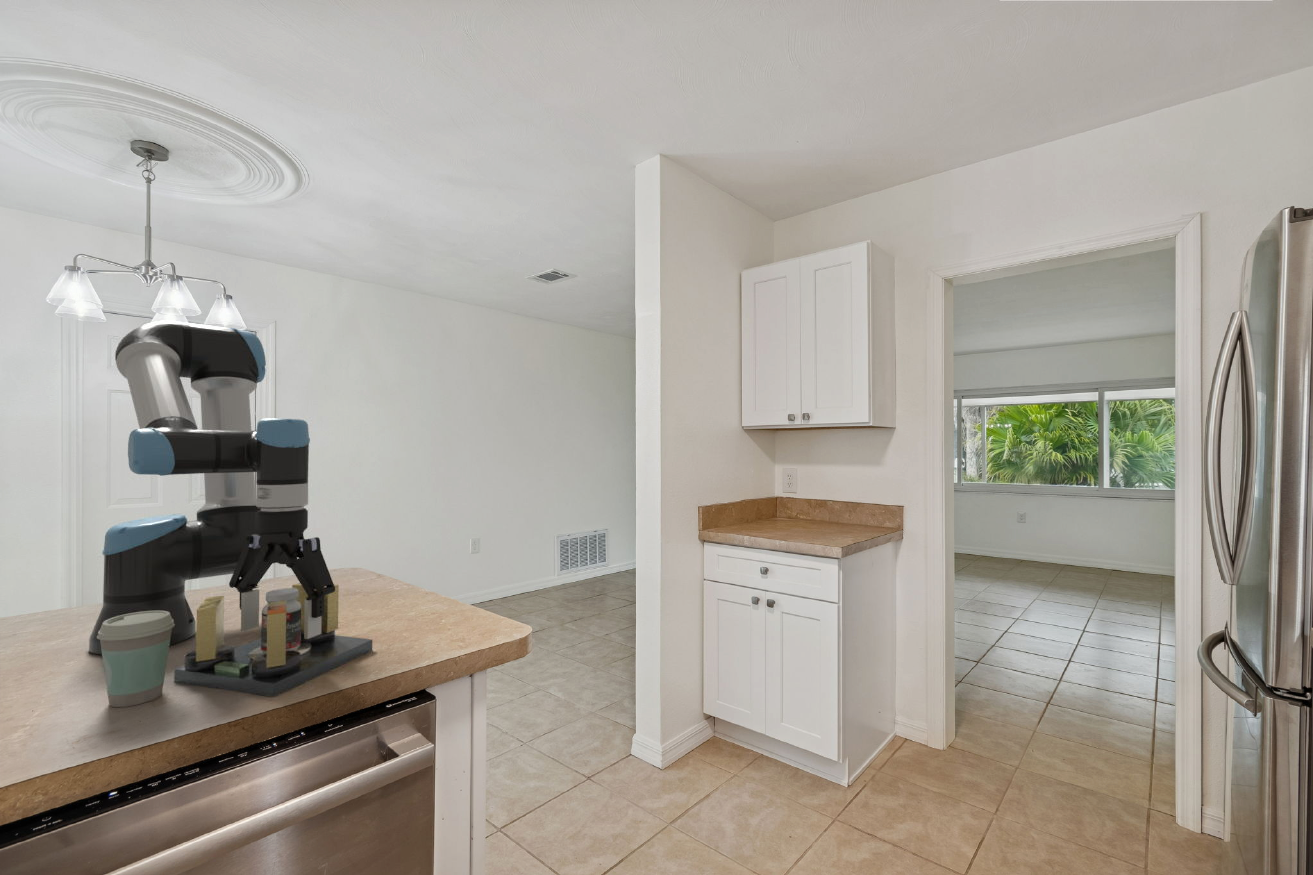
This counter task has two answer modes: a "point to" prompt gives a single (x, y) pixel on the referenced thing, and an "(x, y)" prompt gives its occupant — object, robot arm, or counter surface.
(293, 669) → the tan bar on disc
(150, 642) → the coffee cup
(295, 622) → the pill bottle
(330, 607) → the foot screw
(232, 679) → the plate
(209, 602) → the foot screw
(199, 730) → the counter surface
